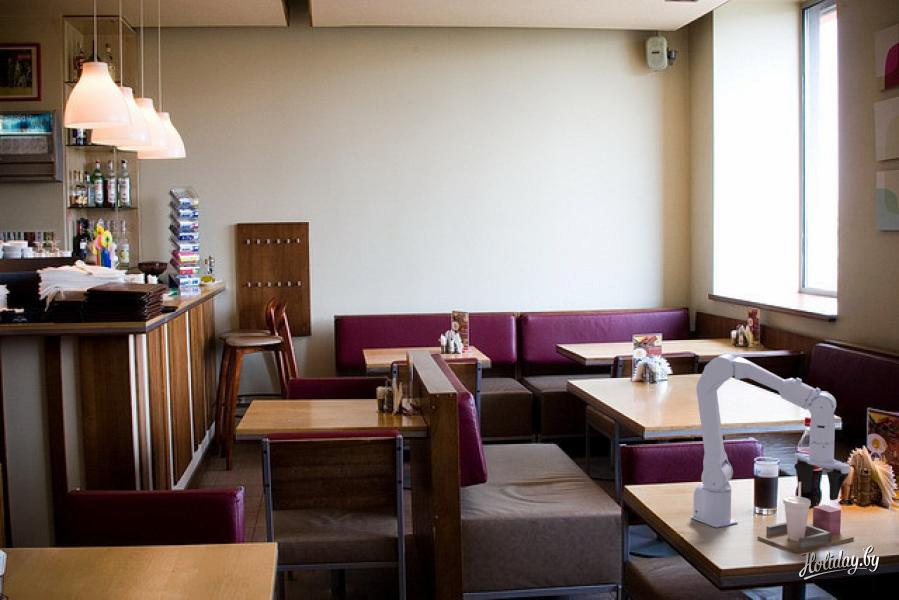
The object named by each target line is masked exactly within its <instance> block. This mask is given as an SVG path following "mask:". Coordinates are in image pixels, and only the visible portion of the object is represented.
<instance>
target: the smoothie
mask: <svg viewBox="0 0 899 600" xmlns="http://www.w3.org/2000/svg"><path fill="white" fill-rule="evenodd" d="M797 492H798V495H796V496H794V495H790V496H785V497H783V500H782V503H783V504H784V513H785V522H786V523H787V533H788V538H789V539H790V540H794V541H799V538H803V537H804V536H805V530H806V524H807V523H808V516H809V510H810V507H811V506H812V504H811V503H812V502H811V499H809V498H806V497H803V496H802V483H801V481H798V489H797ZM807 525H808V524H807Z"/></svg>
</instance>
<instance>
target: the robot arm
mask: <svg viewBox="0 0 899 600" xmlns="http://www.w3.org/2000/svg"><path fill="white" fill-rule="evenodd" d="M732 377H734V380H739V379H750V380H751V381H752V380H753V381H754V382H757V383H759V384H761V385H764V386H767V387H769V388H770V389H773V390H775V391H777V392H778V393H779V395H780V398H781V399H783V400H785V401H786V402H788V403H791V404H793V405H795V406H797V407H800V408H801V409H803V410H808V411H809V413H810V422H809V446H808V450H809V451H808V453H802V452H797V453H794V454H793V462H796V463H795V464H794V469H795V471H796V472H797V475H798V478H799V479H800V482H801V488H802V491H803V493H807V494H808V493H810V492H811V491H812V487H813V486H812V485H813V476H814V475H813V474H814V471H815V466H816V467H820V468H823V469H828V470H830V471H828V472H826V475H827V479H828V483H829V500H830V501H836V500H838V499H839V495H840V492H841V489H842V486H843V484H844V483H845V481H846V479H847V478H848V476H849V474H850V473H851V472H850V471H851V469H850V468H851V465H850V464H846V463H845V462H842V461H840V460H836V459H835V438H836V437H835V431H836V430H835V429H836V428H835V427H836V425H835V418H836V417H835V411H836V408H837V400H836V398H835V396H834V395H832V394H831V393H829V391H826V390H825V391H823V390H821V388H819V387H816V388H814V387H813V386H810V385H808V384H806V383H804V382H803V380H802V378H799V377H796V378H793V377H790V378H785V379H784V378H782V377H781V376H778V375H777V374H775V373H773V372H770V371H769V370H767V369H765V368H763V367H761V366H760V365H757V364H756V363H754V362H752V361H750V360H748V359H746V358H744V357H742V356H736V355H735V354H734V353H731V352H724V353H721V354H720V355H718V356H716V357H715V358H712V359H711V360H710V362H708V363H707V364H706V365H705V366H704V369H703V371H702V373H701V376H700V377H699V379H698V381H697V383H696V395H697V403H698V412H699V420H700V426H701V427H700V428H701V435H702V443H703V449H704V450H703V451H704V455H703V460H702V461H703V463H702V465H703V466H702V467H703V471H702V473H701V475H700V476H701V478H700V481H701V484H699V485H697V486H696V487H695V490H694V492H693V499H692V501H693V504H692V505H693V507H692V508H693V510H692V512H693V513H692V514H693V515H690V518H691V519H693V520H695V521H698V522H701V523H702V524H706V525H709V526H711V527H714V528H720V527H721V528H722V527H726V526H730V525H734V524H739V521H738V520H736V519H733V518H732V517H731V515H732V486H731V485H730V480H731V479H732V478H733V475H734V469H733V466H732V465H731V463H730V462H729V458H728V455H727V452H726V451H725V446H724V438H723V430H722V429H723V428H722V421H721V414H720V405H719V399H718V390H719V389H720V388H721V386H723V385H724V384H725V382H727V381H729V380H730V379H731V378H732Z"/></svg>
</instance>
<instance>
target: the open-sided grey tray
mask: <svg viewBox="0 0 899 600" xmlns="http://www.w3.org/2000/svg"><path fill="white" fill-rule="evenodd" d="M841 520H842V509H840V508H836V507H834V506H830V505H827V504H820V505H817V506H816V505H815V506H813V510H812V523H809V524H806V530H805V536H804V537H803V538H799V541H794V540H790V539H789V538H788V533H787V523H786V521H784V522H781V523H777V524H776V523H775V524H772V525H767V526H766V532H765V533H766V534H762V535H757V540H758V541H761V542H764V543H765V544H767V545H768V544H769V545H772V546H774V547H776V548H778V549H782V550H785V551H787V552H789V553H792V554H795V555H800V554H804V553H808V552H811V551H815V550H820V549H823V548H828V546H829V547H832V546H837V545H840V544H845V543H849V542H852V541H854V539H855V538H854V536H851V535H848V534H847V533H846V534H845V533H843V532H841V526H842V525H841V523H842V521H841ZM844 542H845V543H844Z"/></svg>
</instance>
